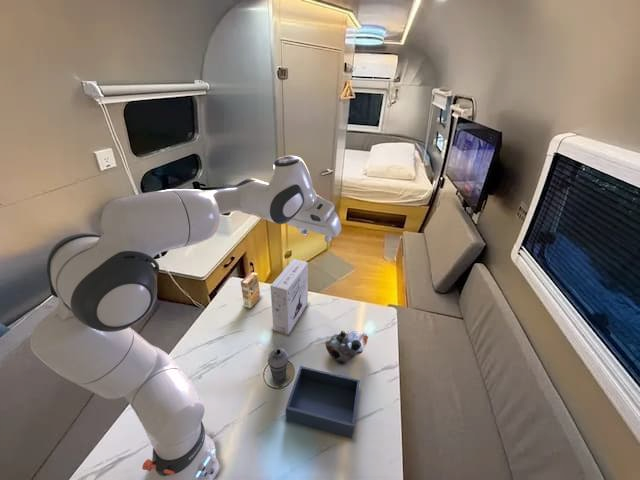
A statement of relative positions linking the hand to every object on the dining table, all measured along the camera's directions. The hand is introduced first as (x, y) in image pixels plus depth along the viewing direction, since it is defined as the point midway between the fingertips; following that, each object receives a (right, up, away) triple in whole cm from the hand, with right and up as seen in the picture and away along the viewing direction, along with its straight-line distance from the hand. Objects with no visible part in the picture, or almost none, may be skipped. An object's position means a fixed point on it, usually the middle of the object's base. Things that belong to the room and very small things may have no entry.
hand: (316, 237), depth 91 cm
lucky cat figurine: (+12, -47, +22) cm, 54 cm away
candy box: (-33, -32, +46) cm, 65 cm away
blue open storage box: (+2, -58, +3) cm, 58 cm away
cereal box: (-13, -37, +39) cm, 55 cm away
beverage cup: (-14, -53, +10) cm, 56 cm away
